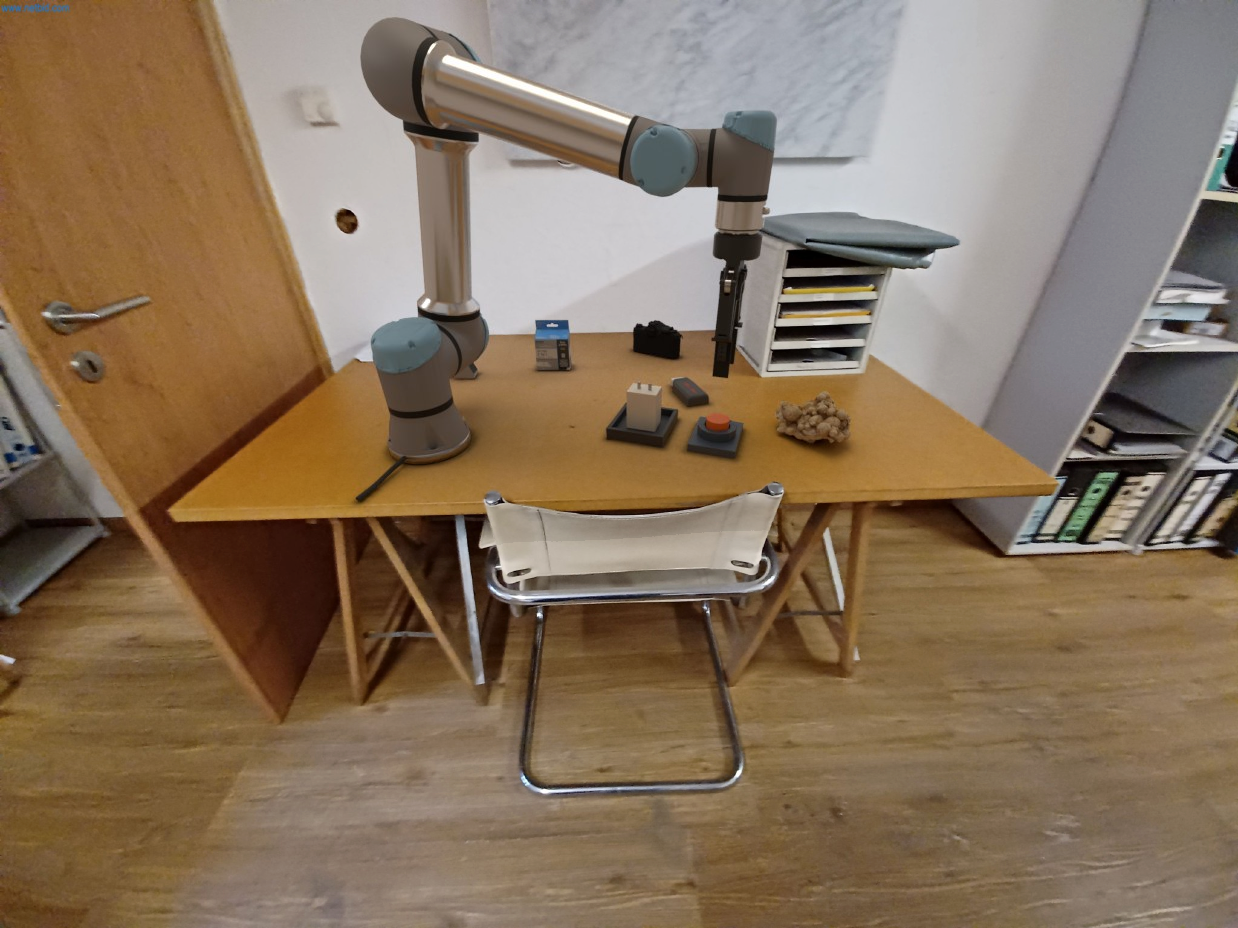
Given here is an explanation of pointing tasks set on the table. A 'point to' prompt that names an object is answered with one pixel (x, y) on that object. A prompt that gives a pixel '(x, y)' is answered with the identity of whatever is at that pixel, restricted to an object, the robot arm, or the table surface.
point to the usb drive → (689, 392)
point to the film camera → (657, 340)
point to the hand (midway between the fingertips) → (723, 369)
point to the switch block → (715, 439)
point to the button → (717, 422)
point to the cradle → (643, 437)
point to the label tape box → (552, 345)
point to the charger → (644, 406)
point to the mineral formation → (814, 420)
